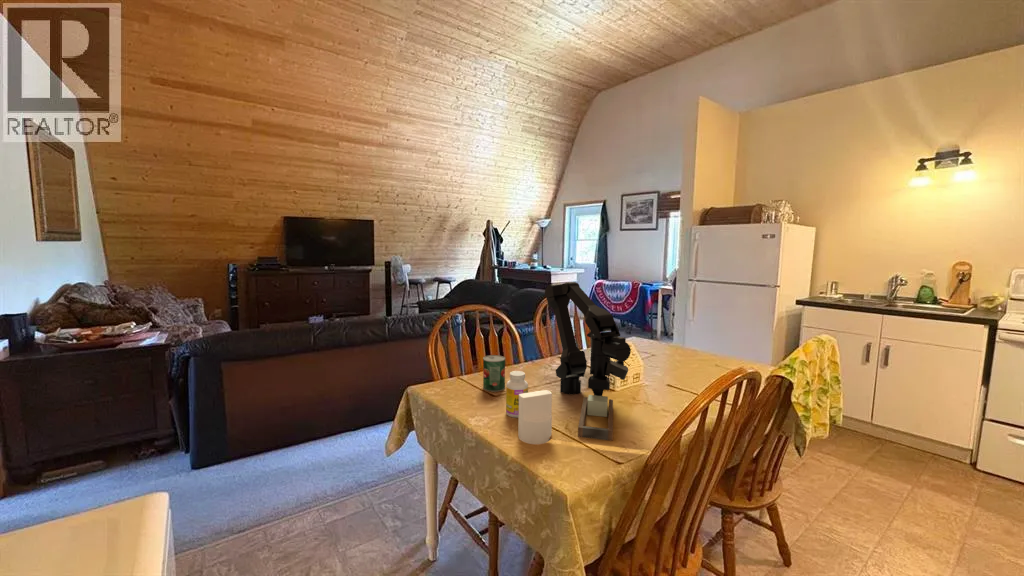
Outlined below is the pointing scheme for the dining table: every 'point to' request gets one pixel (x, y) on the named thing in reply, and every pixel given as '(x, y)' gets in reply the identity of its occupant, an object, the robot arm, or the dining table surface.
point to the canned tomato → (494, 373)
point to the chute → (594, 431)
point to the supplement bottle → (515, 392)
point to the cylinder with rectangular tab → (535, 417)
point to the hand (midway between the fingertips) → (598, 401)
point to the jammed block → (597, 405)
